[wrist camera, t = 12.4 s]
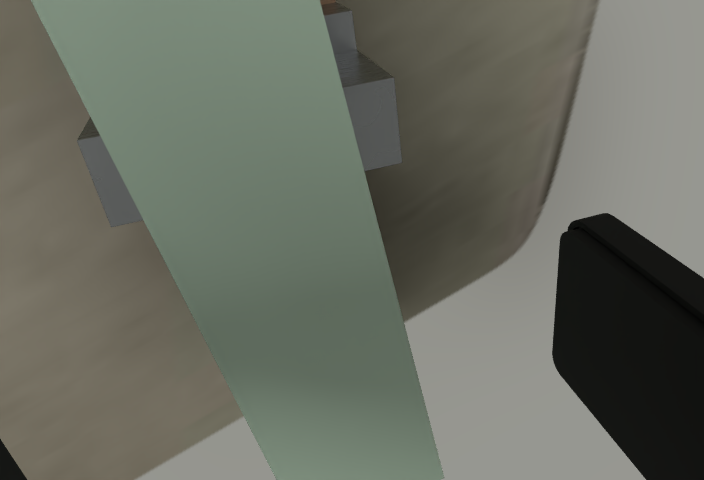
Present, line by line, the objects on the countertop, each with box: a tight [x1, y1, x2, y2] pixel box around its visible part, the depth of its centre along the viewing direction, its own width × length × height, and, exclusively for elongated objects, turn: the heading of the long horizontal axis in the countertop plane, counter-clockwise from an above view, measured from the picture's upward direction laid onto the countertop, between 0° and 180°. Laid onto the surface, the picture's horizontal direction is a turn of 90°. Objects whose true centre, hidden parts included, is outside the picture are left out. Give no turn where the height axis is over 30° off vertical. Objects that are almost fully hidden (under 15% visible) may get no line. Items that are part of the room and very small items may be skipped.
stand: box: [77, 0, 402, 227], centre depth 23 cm, size 22×10×10 cm, turn 8°
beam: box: [31, 0, 444, 480], centre depth 16 cm, size 22×5×6 cm, turn 15°
